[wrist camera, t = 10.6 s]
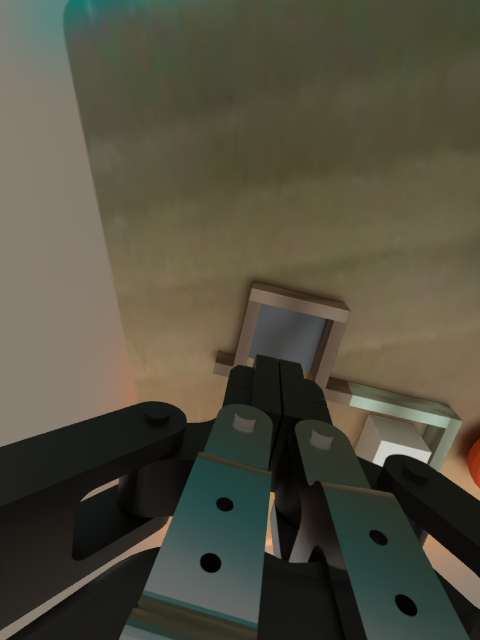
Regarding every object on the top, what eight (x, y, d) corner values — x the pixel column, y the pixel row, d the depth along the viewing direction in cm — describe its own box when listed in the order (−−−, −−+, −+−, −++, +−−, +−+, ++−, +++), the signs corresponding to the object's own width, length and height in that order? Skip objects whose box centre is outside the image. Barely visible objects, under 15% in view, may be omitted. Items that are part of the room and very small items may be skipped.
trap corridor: (480, 335, 38) (497, 346, 36) (400, 514, 46) (409, 535, 43) (235, 277, 38) (232, 283, 36) (193, 465, 46) (188, 483, 43)
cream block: (413, 424, 42) (431, 452, 37) (396, 461, 44) (412, 493, 39) (368, 413, 42) (381, 440, 37) (354, 450, 44) (364, 481, 39)
